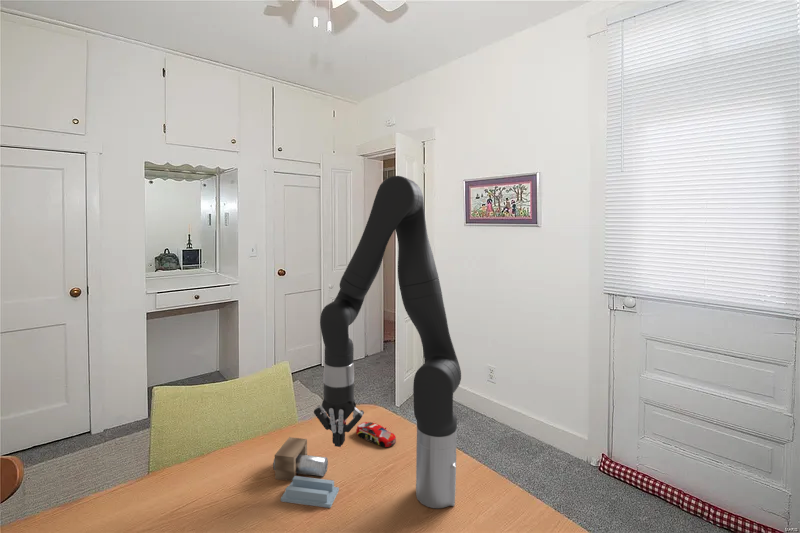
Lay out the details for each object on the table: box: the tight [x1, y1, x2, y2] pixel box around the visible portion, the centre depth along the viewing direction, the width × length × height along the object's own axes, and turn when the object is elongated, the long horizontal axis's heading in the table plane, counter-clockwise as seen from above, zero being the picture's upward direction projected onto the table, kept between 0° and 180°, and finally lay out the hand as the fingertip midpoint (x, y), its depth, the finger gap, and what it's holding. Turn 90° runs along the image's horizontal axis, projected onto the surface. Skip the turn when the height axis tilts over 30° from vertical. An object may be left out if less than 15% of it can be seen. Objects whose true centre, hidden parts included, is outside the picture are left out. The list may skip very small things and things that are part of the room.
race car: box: [355, 421, 397, 448], centre depth 122 cm, size 13×5×4 cm, turn 53°
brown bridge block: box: [274, 436, 308, 482], centre depth 106 cm, size 5×8×6 cm, turn 170°
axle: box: [272, 454, 329, 477], centre depth 106 cm, size 13×4×4 cm, turn 80°
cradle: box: [280, 475, 340, 509], centre depth 97 cm, size 12×6×3 cm, turn 80°
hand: (338, 444), depth 104 cm, fingers closed
